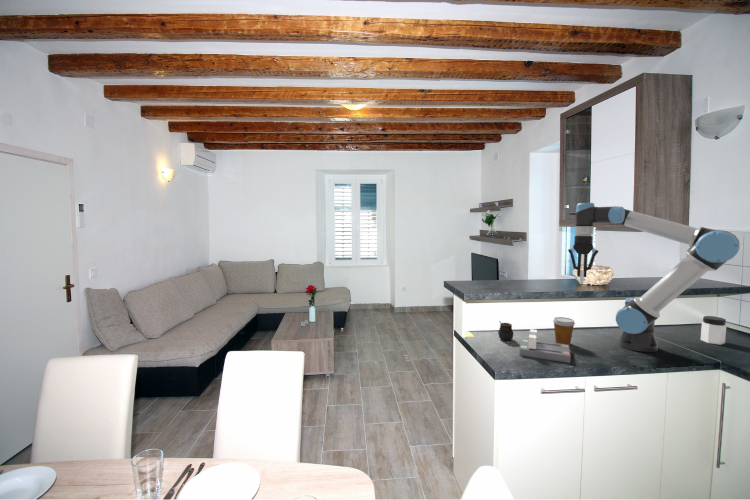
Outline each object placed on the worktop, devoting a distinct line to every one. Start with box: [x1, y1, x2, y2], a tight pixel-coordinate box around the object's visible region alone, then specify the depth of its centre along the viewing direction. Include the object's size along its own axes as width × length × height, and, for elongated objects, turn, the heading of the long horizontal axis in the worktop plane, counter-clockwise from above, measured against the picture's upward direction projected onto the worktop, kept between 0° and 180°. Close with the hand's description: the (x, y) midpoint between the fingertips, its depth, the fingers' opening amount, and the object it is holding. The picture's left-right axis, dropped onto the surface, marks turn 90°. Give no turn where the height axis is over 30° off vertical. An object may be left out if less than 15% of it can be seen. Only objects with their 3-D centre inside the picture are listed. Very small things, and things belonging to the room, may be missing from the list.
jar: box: [700, 315, 727, 346], centre depth 179 cm, size 9×8×12 cm
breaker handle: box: [529, 328, 538, 343], centre depth 171 cm, size 3×4×5 cm
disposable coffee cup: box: [552, 316, 576, 346], centre depth 177 cm, size 10×10×12 cm
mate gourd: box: [497, 320, 514, 342], centre depth 183 cm, size 7×8×10 cm
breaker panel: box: [519, 338, 571, 364], centre depth 165 cm, size 20×15×3 cm
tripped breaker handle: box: [528, 334, 536, 349], centre depth 163 cm, size 3×4×5 cm
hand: (581, 283), depth 177 cm, fingers closed
